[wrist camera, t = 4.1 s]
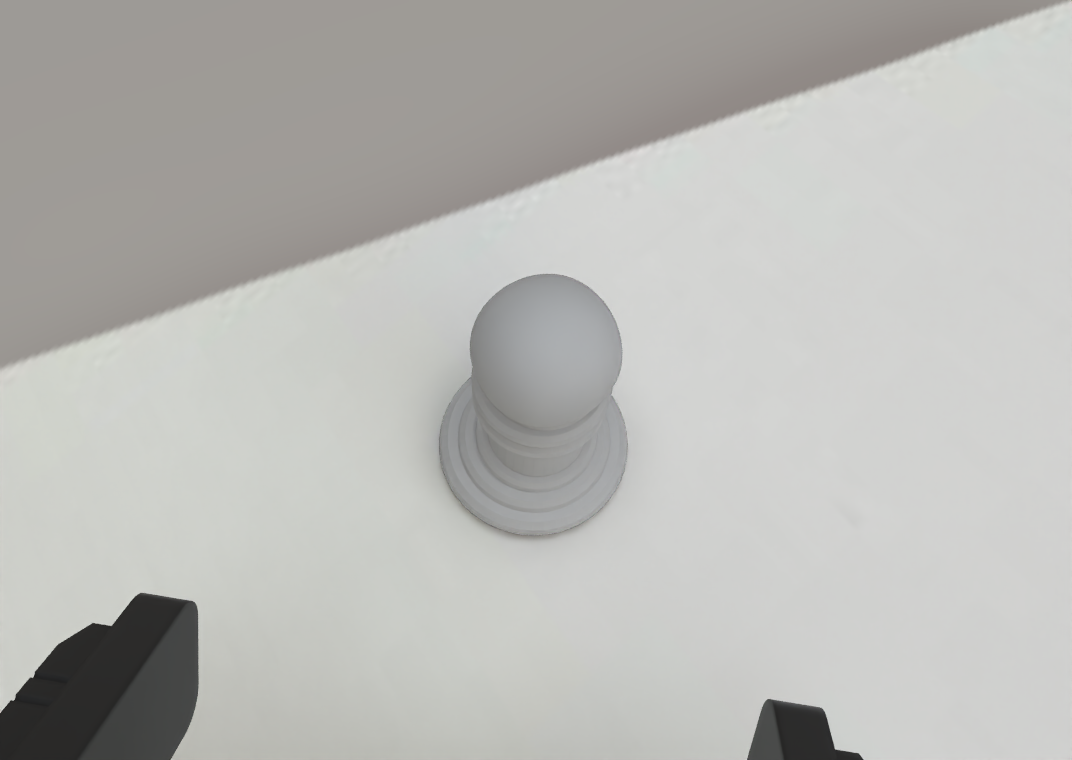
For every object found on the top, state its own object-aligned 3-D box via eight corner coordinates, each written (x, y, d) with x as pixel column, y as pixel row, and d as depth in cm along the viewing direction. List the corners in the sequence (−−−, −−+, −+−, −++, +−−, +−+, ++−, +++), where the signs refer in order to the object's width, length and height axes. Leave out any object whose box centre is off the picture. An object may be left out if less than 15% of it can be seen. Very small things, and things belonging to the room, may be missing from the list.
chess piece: (660, 484, 28) (727, 364, 20) (494, 573, 27) (490, 487, 18) (568, 333, 30) (593, 162, 21) (408, 411, 28) (369, 265, 20)
